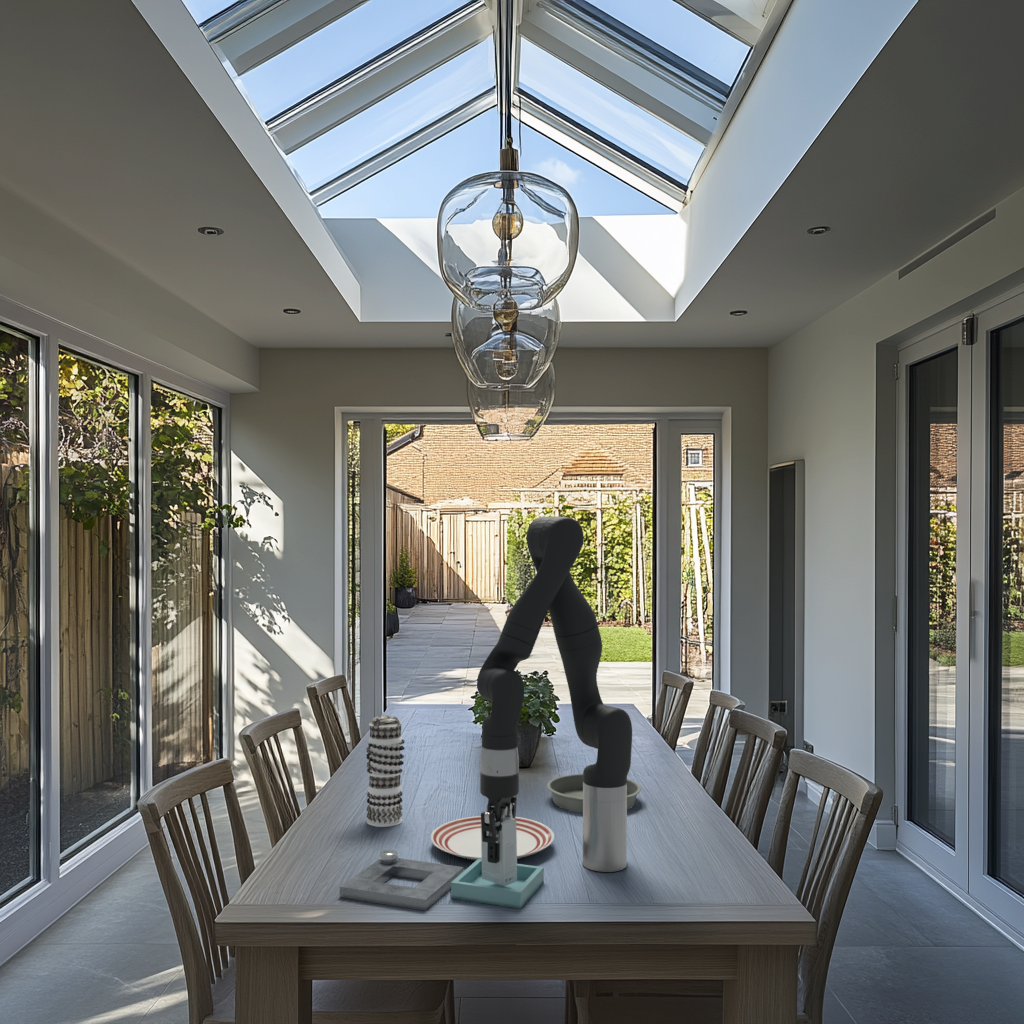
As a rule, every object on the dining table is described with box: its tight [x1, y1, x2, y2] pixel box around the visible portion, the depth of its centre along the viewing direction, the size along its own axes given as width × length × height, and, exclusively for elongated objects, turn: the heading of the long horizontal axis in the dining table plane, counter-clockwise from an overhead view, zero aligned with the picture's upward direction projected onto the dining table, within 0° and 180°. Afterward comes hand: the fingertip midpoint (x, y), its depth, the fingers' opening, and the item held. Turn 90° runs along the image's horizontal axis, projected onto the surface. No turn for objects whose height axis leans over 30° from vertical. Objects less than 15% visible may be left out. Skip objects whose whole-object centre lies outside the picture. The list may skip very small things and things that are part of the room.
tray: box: [450, 859, 545, 910], centre depth 177 cm, size 14×14×3 cm
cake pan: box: [546, 773, 642, 813], centre depth 239 cm, size 25×25×4 cm
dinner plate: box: [430, 815, 555, 861], centre depth 202 cm, size 28×27×3 cm
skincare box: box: [481, 817, 518, 886], centre depth 177 cm, size 6×4×12 cm
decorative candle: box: [366, 715, 406, 828], centre depth 221 cm, size 9×9×25 cm
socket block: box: [339, 849, 465, 911], centre depth 179 cm, size 18×18×4 cm
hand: (499, 856), depth 177 cm, fingers closed on skincare box, 5 cm apart
